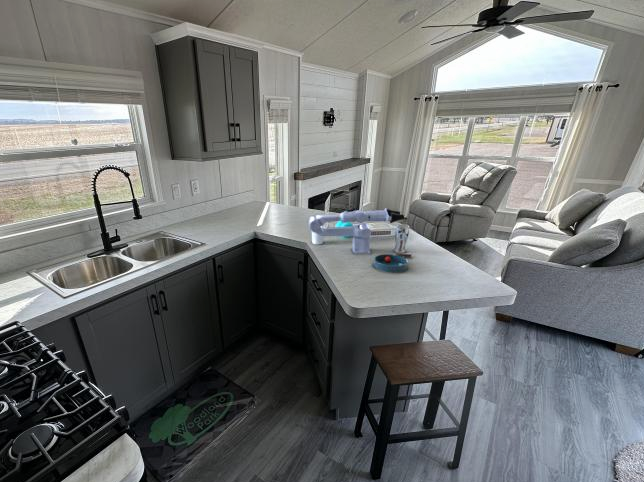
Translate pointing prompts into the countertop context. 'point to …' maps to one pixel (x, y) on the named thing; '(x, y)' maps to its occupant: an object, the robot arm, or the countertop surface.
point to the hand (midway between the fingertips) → (401, 215)
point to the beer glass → (401, 237)
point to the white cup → (317, 238)
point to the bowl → (390, 263)
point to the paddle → (404, 255)
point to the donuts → (344, 225)
